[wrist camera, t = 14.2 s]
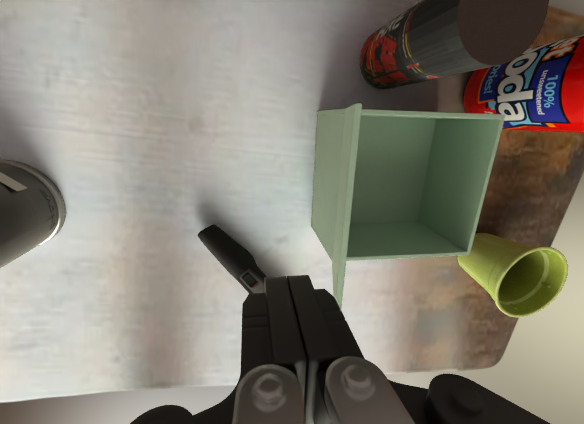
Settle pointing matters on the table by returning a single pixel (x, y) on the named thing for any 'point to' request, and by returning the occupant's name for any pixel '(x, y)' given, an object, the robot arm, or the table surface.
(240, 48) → the table surface
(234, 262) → the electric trimmer
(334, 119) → the carton
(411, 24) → the deodorant
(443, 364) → the table surface
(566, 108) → the soda can
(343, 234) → the flap
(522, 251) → the plant pot
